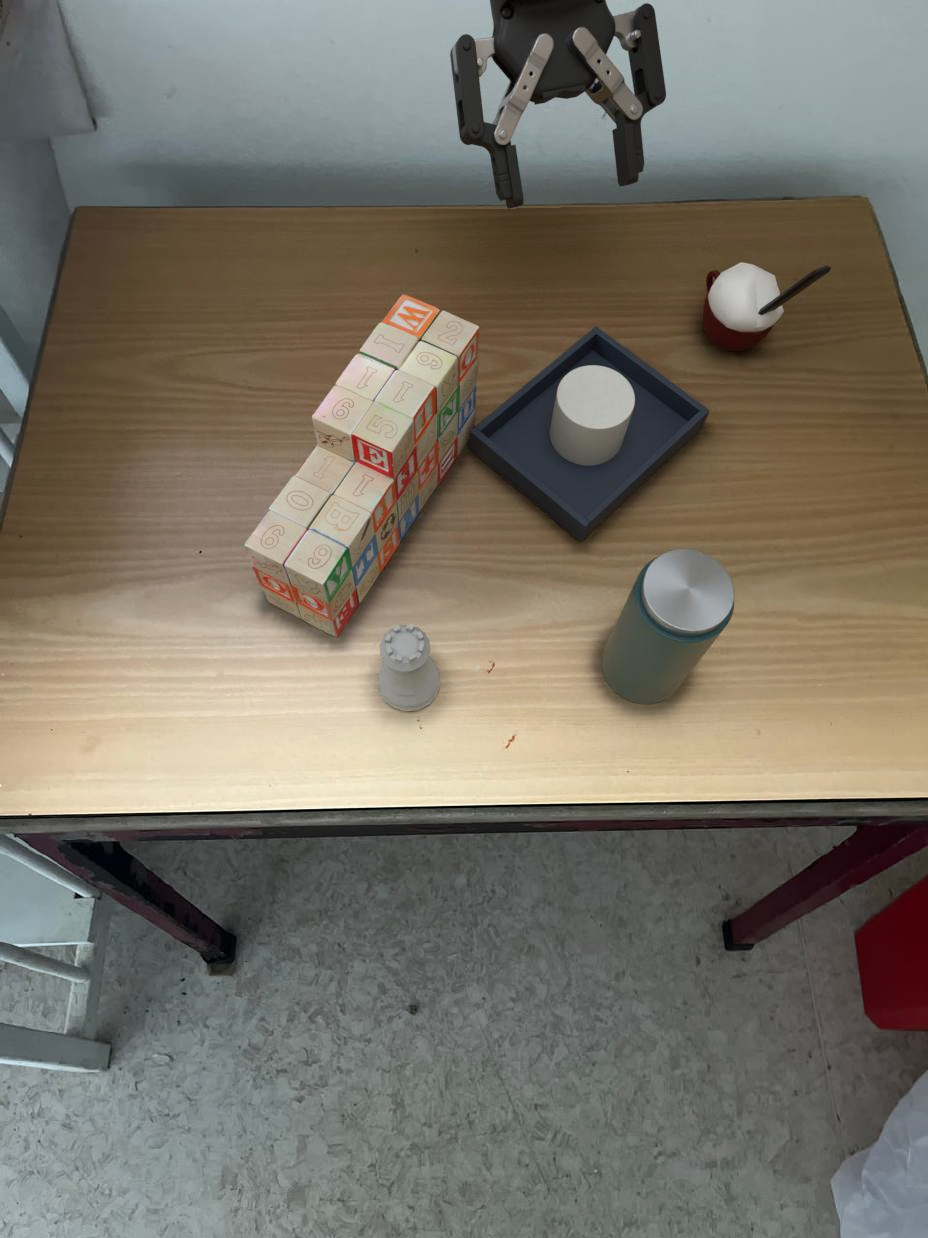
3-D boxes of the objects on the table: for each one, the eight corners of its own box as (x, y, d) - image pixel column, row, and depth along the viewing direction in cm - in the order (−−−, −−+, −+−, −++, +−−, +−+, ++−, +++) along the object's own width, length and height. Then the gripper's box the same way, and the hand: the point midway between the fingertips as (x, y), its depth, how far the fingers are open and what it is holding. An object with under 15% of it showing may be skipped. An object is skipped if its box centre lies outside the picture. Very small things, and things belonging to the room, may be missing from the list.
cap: (582, 392, 71) (592, 351, 66) (637, 435, 69) (651, 396, 65) (534, 434, 69) (540, 395, 65) (589, 479, 68) (599, 442, 63)
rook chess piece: (447, 703, 60) (448, 664, 53) (387, 720, 60) (378, 683, 53) (431, 647, 62) (429, 602, 55) (371, 663, 62) (361, 620, 54)
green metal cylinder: (637, 611, 64) (681, 525, 52) (699, 665, 62) (760, 588, 50) (584, 665, 62) (617, 588, 50) (647, 721, 60) (697, 656, 48)
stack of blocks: (338, 641, 62) (314, 564, 51) (267, 603, 63) (228, 520, 52) (476, 430, 70) (481, 323, 59) (410, 400, 71) (403, 289, 60)
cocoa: (685, 299, 76) (726, 182, 65) (754, 295, 76) (806, 178, 65) (707, 384, 72) (754, 276, 61) (779, 380, 73) (839, 271, 62)
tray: (591, 345, 74) (595, 325, 71) (701, 428, 70) (710, 410, 68) (468, 449, 69) (469, 430, 67) (580, 542, 66) (585, 526, 64)
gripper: (440, -92, 50) (489, 209, 56) (665, -126, 52) (689, 169, 58) (420, -44, 57) (465, 219, 63) (619, -76, 58) (644, 183, 65)
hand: (572, 195), depth 60 cm, fingers open, 8 cm apart
